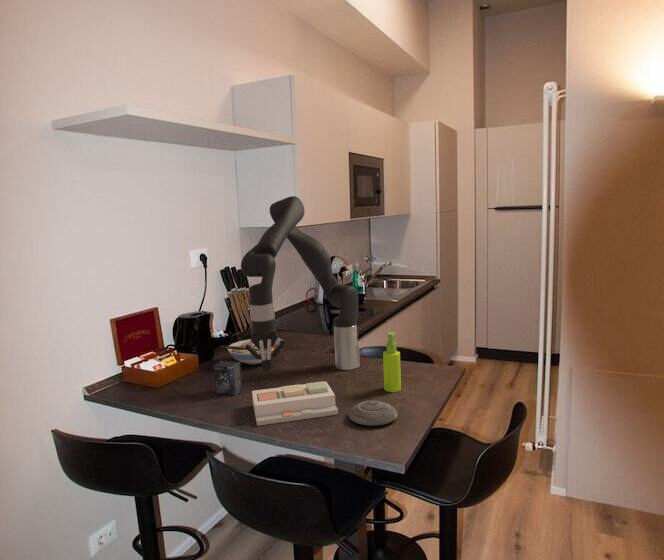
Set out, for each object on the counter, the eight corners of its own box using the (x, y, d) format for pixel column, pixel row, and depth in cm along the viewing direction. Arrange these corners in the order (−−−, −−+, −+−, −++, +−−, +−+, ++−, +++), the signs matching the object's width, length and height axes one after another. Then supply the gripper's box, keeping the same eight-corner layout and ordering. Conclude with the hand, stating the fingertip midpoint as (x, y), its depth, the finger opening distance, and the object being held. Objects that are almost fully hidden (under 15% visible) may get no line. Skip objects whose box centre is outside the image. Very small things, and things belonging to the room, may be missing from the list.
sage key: (324, 389, 167) (323, 381, 167) (327, 396, 162) (327, 387, 161) (306, 392, 166) (305, 383, 166) (309, 398, 160) (309, 389, 160)
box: (215, 394, 178) (213, 365, 177) (223, 388, 183) (221, 360, 182) (235, 395, 176) (232, 366, 174) (242, 389, 181) (240, 361, 180)
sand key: (300, 392, 166) (299, 384, 165) (303, 399, 160) (303, 390, 160) (282, 395, 164) (281, 386, 164) (284, 402, 159) (284, 392, 158)
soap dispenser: (403, 385, 178) (401, 330, 175) (399, 392, 171) (397, 336, 168) (386, 384, 180) (385, 330, 177) (382, 391, 173) (380, 335, 170)
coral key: (276, 400, 164) (276, 391, 164) (278, 407, 158) (278, 398, 158) (258, 402, 163) (257, 394, 162) (259, 410, 157) (259, 400, 157)
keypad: (326, 395, 172) (326, 381, 171) (338, 414, 156) (337, 399, 155) (253, 405, 166) (252, 390, 166) (257, 425, 150) (255, 410, 150)
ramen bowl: (294, 356, 218) (293, 338, 217) (266, 373, 198) (265, 353, 196) (246, 352, 228) (244, 335, 227) (215, 367, 208) (213, 348, 207)
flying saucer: (372, 404, 163) (371, 388, 162) (408, 418, 151) (407, 400, 150) (338, 419, 153) (337, 402, 152) (373, 434, 142) (372, 416, 141)
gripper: (282, 312, 161) (285, 364, 164) (240, 317, 158) (245, 369, 161) (285, 317, 154) (289, 371, 157) (242, 322, 151) (246, 377, 154)
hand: (266, 370), depth 159 cm, fingers closed
